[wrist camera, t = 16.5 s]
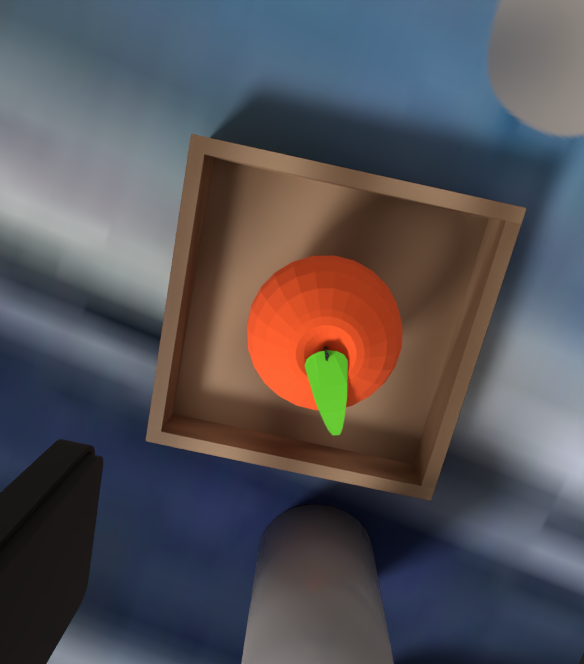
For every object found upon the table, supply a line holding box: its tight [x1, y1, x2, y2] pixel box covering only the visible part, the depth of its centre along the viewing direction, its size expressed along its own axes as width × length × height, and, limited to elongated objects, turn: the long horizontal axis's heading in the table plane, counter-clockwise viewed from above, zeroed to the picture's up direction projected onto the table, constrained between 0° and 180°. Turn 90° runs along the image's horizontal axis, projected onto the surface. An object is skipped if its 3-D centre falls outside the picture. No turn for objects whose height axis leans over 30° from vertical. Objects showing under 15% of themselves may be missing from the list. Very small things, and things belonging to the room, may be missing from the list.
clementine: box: [247, 256, 403, 436], centre depth 22 cm, size 8×7×7 cm
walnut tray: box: [146, 134, 527, 501], centre depth 25 cm, size 15×15×3 cm
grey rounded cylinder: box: [242, 504, 394, 664], centre depth 26 cm, size 7×7×9 cm
